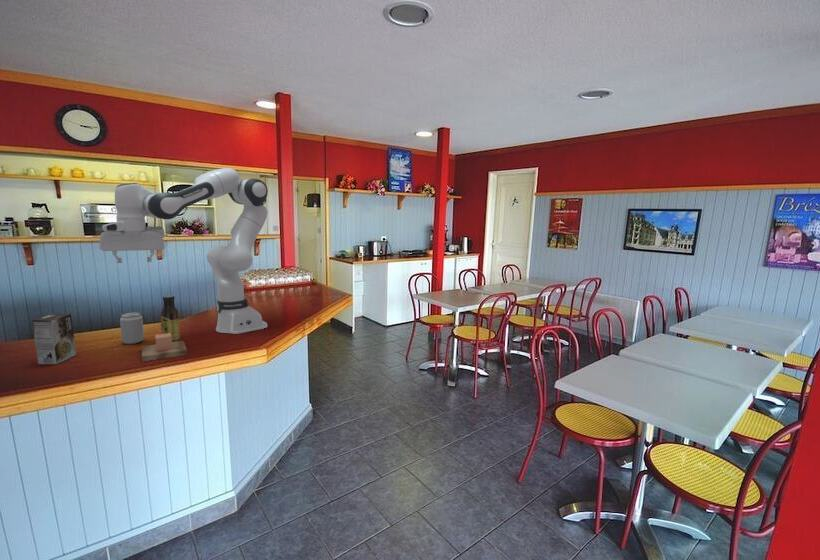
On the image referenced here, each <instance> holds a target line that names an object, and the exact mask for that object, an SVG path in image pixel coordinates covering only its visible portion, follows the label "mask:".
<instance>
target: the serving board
mask: <svg viewBox="0 0 820 560" xmlns="http://www.w3.org/2000/svg"><path fill="white" fill-rule="evenodd" d="M187 349H188V348H187V347H186V343H185V341H184V340H179V341H177V342H172V349H168V350H161V351H157V350H156V343H155V344H149V345H141V361H142V363H144V362H150V361H151V360H152V361H156V360H157V359H158V360H165V359H171V358H177V357H182V356H188V350H187ZM170 357H171V358H170ZM164 358H165V359H164Z"/></svg>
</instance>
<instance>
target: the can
mask: <svg viewBox="0 0 820 560" xmlns="http://www.w3.org/2000/svg"><path fill="white" fill-rule="evenodd" d="M119 324H120V335H121V336H120V337H121V343H123V344H125V345H135V344H136V343H137V344H140V343H142V342H143V341H144V340H145V333H144V323H143V316H142V315H141V313H140V312H129V313H123V314H122V315H121V317H120V318H119ZM141 341H142V342H141ZM139 342H140V343H139ZM137 344H136V345H137Z"/></svg>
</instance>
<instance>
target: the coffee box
mask: <svg viewBox="0 0 820 560" xmlns="http://www.w3.org/2000/svg"><path fill="white" fill-rule="evenodd" d="M31 322H32V328H33V329H32V330H33V334H34V335H33V336H34V343H35V350H36V357H37V364H38V365H58V364H60V363H62V362H65V361H66V360H68V359H71V358H73V357H75V356H77V350H76V341H75V335H74V327H73V320H72V313H59V312H57V313H55V312H54V313H50V314H47V315H44V316H41V317H38V318H35V319H32V320H31Z"/></svg>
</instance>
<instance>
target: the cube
mask: <svg viewBox="0 0 820 560" xmlns="http://www.w3.org/2000/svg"><path fill="white" fill-rule="evenodd" d="M154 335H155V344H156V350H157V351H161V350H168V349H172V338H171V333H166V334H162V333H160V334H159V333H157V334H154Z"/></svg>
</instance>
